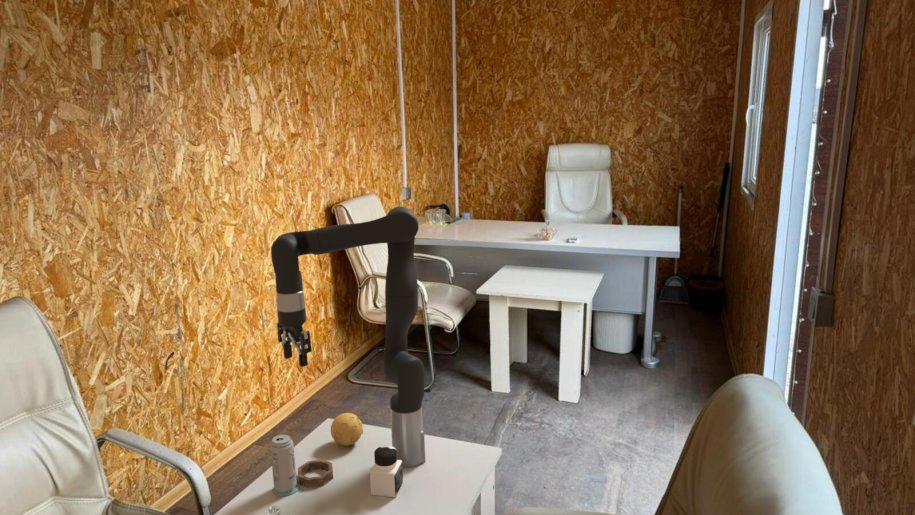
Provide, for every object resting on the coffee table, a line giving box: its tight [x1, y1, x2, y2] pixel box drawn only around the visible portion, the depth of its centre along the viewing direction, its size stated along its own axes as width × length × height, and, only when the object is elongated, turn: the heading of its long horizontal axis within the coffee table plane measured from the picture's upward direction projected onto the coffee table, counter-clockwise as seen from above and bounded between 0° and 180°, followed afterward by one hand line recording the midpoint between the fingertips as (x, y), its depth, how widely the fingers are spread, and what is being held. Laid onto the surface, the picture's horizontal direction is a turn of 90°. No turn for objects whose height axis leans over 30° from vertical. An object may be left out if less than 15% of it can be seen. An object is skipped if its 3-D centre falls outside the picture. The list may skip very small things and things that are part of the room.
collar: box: [297, 459, 334, 489], centre depth 174 cm, size 10×10×2 cm
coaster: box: [272, 480, 300, 497], centre depth 169 cm, size 7×7×1 cm
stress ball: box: [330, 412, 364, 447], centre depth 190 cm, size 10×10×10 cm
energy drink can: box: [270, 433, 298, 493], centre depth 167 cm, size 6×6×15 cm
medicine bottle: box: [369, 445, 404, 498], centre depth 167 cm, size 7×7×12 cm
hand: (295, 361), depth 172 cm, fingers open, 8 cm apart
